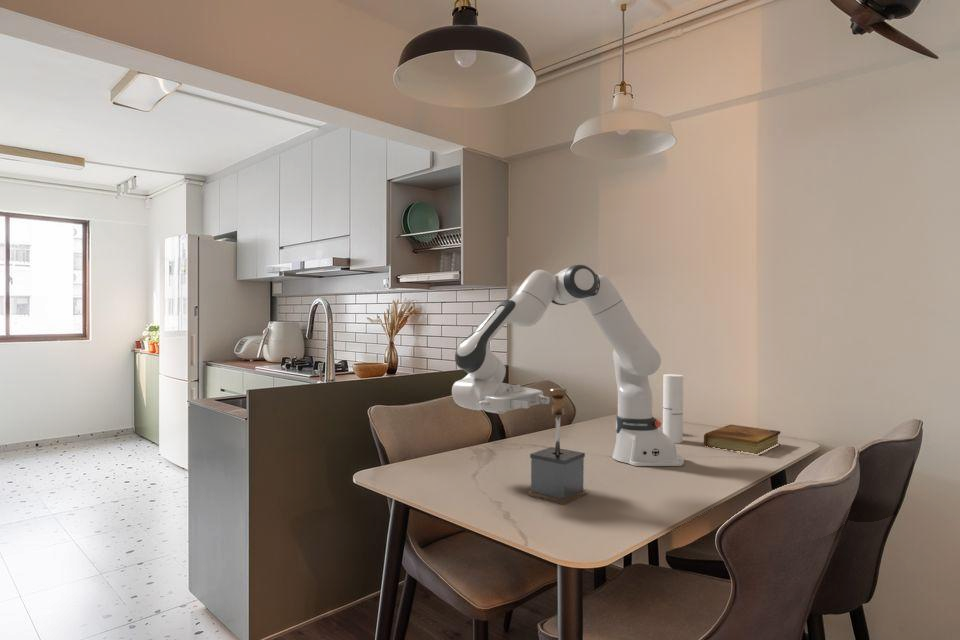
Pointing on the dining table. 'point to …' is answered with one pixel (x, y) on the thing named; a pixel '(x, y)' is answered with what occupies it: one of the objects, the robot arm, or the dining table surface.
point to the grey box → (557, 475)
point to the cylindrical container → (673, 407)
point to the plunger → (558, 412)
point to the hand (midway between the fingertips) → (538, 402)
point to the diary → (741, 438)
